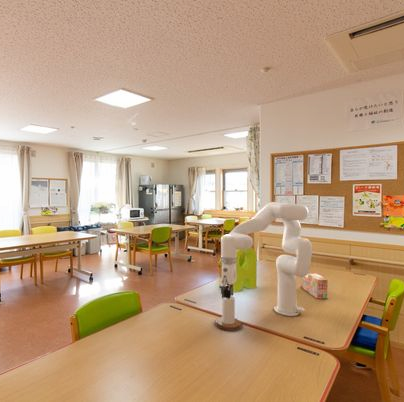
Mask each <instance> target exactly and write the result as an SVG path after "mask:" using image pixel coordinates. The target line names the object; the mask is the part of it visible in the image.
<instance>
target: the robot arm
mask: <svg viewBox="0 0 404 402" xmlns="http://www.w3.org/2000/svg"><path fill="white" fill-rule="evenodd" d="M308 216H309V209H308V207H307V206H306V205H305V204H298V203H290V202H283V201H282V202H281V201H271V202H268V203H267V204H265V205H264V206H263V207H262V208H261V209H260V210H259V211H258V212H257V213H256V214H255V215H254V216H253V217H251V218H249V219H247V220H245V221H243V222H240V223H239V224H238V225H236V226H235V227H234V228H232V229H231V231H230V232H229V233H228V234H223V235H221V237H220V263H221V284H222V285H223V287H224V297H225V298H230V285H231V286H233V283H234V282H235V281H236V280H237V271H236V264H237V249H239V250H247V249H250V248H251V247H252V248H253V245H254V240H253V237H251V236H250V235H249V234H253V233H258V232H261V231H265V230H267V228H268V227H269V226H270V225H271V224H272V223H273V222H275V220H276V219H280V220H281V221H282V223H283V233H282V234H283V235H282V241H281V249H282V250H283V251H284V252H286V253H288V254H281V255H279V256H278V257H277V258H276V259H275V267H276V272H277V273H276V274H277V301H276V303H277V304H276V305H275V306H274V307H273V309H274V312H276V313H277V314H279V315H281V316H285V317H286V316H287V317H296V316H298V315H299V314H300V313H303V314H305V313H306V308H304V307H302V306H298V303H297V284H298V283H297V277H298V278H299V277H300V278H301V277H304V276H306V275H307V274H309V273H310V268H311V263H312V256H313V249H314V248H313V243H312V242H311V240H310V239H308V238H305V237H301V235H302V234H301V233H302V226H301V223H300V222H302V221H305V220H306V219H307V218H308ZM289 254H293V255H296V256H293V255H289ZM227 285H228V286H227ZM231 296H232V297H233V296H234V293H233V294H232V295H231Z"/></svg>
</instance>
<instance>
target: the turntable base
mask: <svg viewBox="0 0 404 402" xmlns="http://www.w3.org/2000/svg"><path fill="white" fill-rule="evenodd" d="M214 325H215V327H216V328H217V329H219V330H222V331H225V332H238V331H240V330H241V329H242V327H243V323H242V322H241V321H240V326H239V327H238V328H233V329H230V328H224V327H221V326H219V325H218V324H217V319H215V321H214Z"/></svg>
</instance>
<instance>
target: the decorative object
mask: <svg viewBox="0 0 404 402" xmlns="http://www.w3.org/2000/svg"><path fill="white" fill-rule="evenodd" d="M243 254H244V256H245V257H244V262H243V264H242V265H241V264H240V259H241V256H242V255H243ZM257 257H258V256H257V253H256V250H255V248H253V246H252V247H251V248H250V249H247V250H239V249H237V264H236V271H237V280H236V281H235V282H234V283H233V293H237V292H241V291H243V287H244V288H246V289H249V290H250V289H254V288H257V279H258V278H257V274H258V272H257V271H258V269H257V268H258V267H257V266H258V265H257V263H258V258H257Z"/></svg>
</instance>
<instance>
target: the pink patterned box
mask: <svg viewBox="0 0 404 402" xmlns="http://www.w3.org/2000/svg"><path fill="white" fill-rule="evenodd" d="M328 281H329V280H328V278H325V277H324V276H322V275H320V274H318V273H308V274H307V275H306V276H304V277H300V287H301V289H303V290H304V291H306V292H307V293H309V294H310V295H311V296H313V297H314V298H315V299H316V300H327V299H328V286H329V285H328V283H329V282H328Z"/></svg>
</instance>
